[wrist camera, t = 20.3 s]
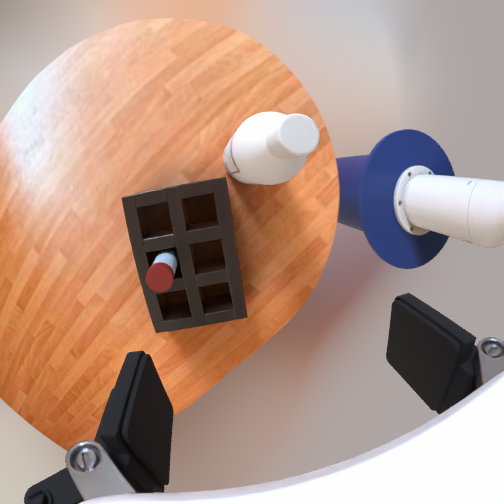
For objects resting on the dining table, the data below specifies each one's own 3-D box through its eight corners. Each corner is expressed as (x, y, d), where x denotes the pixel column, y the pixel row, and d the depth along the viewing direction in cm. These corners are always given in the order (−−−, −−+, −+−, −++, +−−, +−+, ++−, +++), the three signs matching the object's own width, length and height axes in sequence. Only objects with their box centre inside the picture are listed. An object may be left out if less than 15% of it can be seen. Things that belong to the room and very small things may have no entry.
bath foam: (284, 152, 36) (363, 128, 17) (256, 193, 37) (313, 208, 18) (242, 123, 34) (284, 66, 15) (212, 165, 35) (223, 146, 16)
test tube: (177, 242, 37) (169, 263, 27) (182, 262, 37) (175, 290, 28) (157, 246, 36) (142, 268, 27) (162, 266, 37) (149, 294, 27)
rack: (222, 177, 35) (225, 177, 31) (242, 301, 40) (247, 317, 36) (131, 195, 34) (121, 197, 29) (160, 316, 39) (155, 333, 34)
